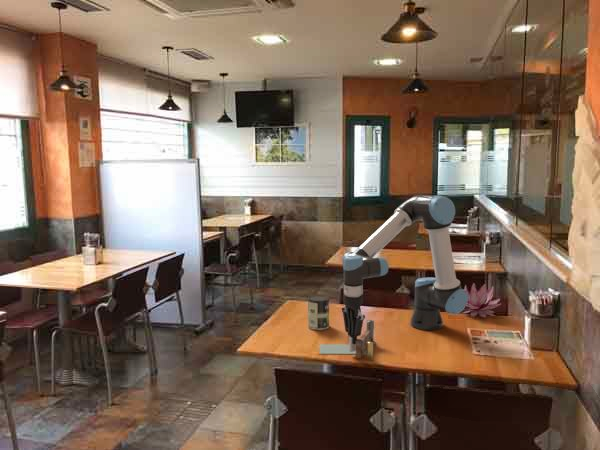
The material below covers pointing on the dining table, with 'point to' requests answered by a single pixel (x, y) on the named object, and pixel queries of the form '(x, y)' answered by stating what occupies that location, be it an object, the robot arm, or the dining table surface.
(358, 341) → the gate
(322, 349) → the mat
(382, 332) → the dining table surface
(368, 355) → the post
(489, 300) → the decorative flower
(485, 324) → the dining table surface
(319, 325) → the coffee can
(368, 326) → the hinge post
